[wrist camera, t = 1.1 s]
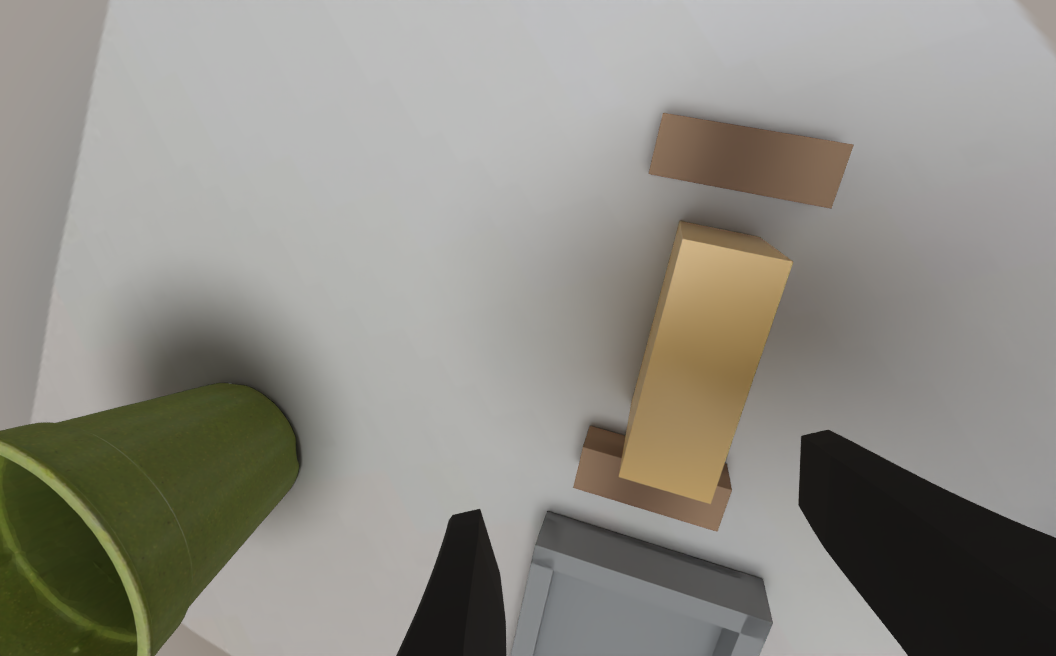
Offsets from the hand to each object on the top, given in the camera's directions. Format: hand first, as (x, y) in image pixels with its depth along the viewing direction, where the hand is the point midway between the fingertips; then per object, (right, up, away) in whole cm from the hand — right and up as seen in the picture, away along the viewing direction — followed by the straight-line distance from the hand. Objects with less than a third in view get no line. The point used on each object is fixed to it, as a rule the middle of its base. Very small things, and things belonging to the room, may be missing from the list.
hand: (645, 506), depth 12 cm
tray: (+2, -13, +15) cm, 20 cm away
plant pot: (-18, -2, +18) cm, 25 cm away
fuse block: (+4, +4, +10) cm, 11 cm away
